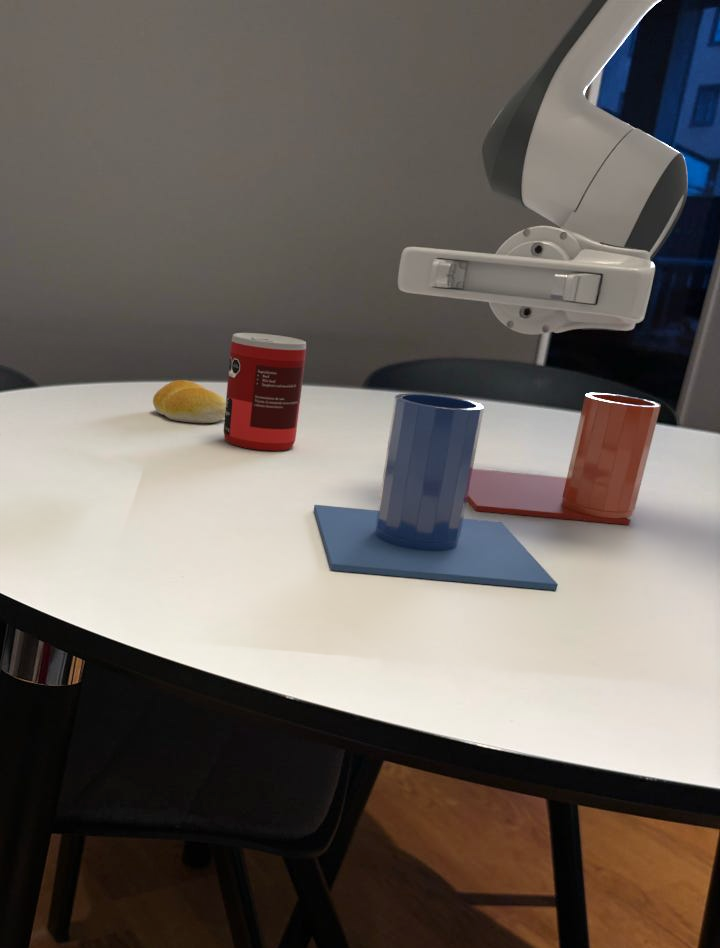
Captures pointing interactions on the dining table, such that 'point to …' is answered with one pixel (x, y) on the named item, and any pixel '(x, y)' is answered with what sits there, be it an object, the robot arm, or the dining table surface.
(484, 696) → the dining table surface
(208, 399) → the bread roll
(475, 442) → the blue cup
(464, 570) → the blue mat
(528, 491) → the red mat
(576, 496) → the red cup
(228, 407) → the canned food
